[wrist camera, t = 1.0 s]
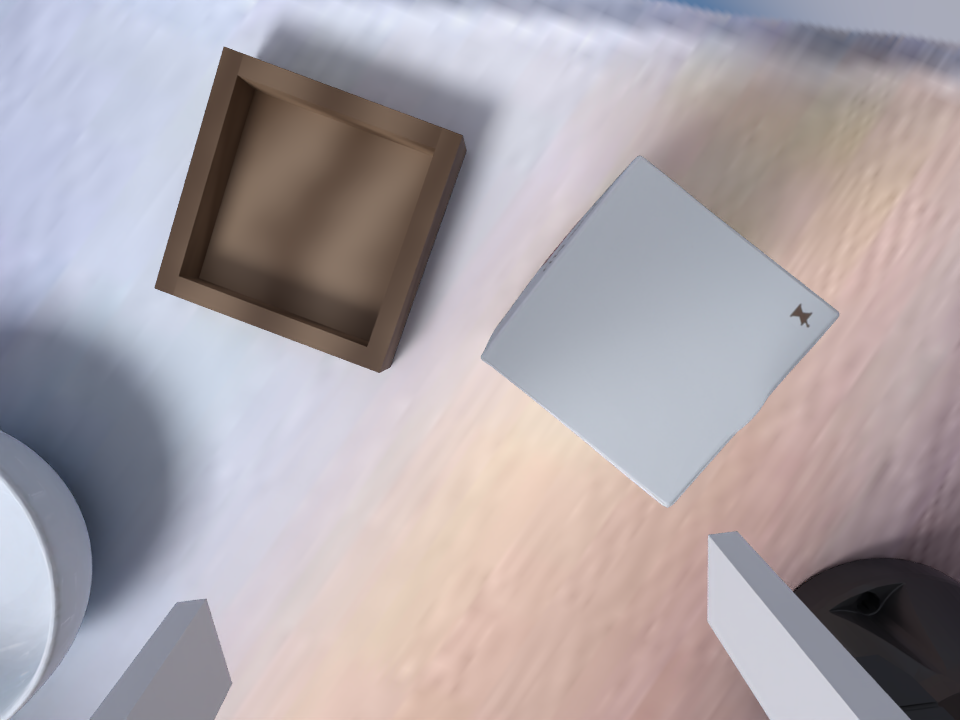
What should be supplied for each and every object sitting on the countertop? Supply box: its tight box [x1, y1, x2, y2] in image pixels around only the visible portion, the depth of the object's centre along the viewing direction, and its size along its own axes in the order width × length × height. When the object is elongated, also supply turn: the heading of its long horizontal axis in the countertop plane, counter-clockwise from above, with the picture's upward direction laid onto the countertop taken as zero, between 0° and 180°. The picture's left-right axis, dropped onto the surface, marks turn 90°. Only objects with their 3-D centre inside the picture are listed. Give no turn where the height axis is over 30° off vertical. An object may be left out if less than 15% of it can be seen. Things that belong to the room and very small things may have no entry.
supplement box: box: [481, 156, 839, 508], centre depth 24 cm, size 9×9×15 cm
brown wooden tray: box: [155, 47, 467, 373], centre depth 30 cm, size 14×14×3 cm
